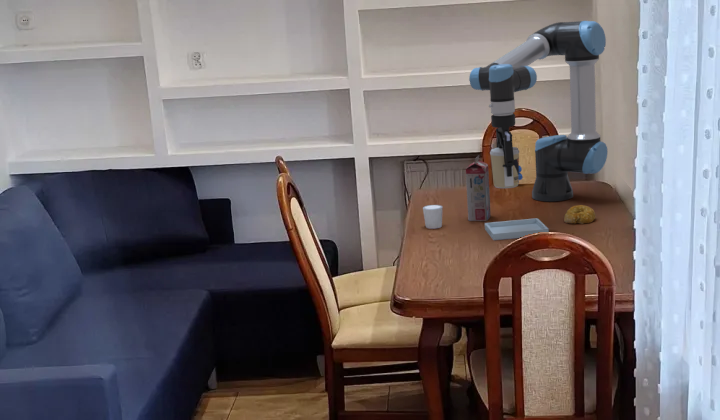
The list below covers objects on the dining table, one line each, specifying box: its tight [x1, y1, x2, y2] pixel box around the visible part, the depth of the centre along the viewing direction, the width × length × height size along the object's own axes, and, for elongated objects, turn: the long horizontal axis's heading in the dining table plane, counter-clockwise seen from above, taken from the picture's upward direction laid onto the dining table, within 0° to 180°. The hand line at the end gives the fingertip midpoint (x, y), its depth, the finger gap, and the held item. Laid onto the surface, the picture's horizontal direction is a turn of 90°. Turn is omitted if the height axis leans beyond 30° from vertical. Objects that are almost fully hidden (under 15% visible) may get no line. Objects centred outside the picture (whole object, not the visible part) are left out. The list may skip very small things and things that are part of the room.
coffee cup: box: [489, 146, 520, 189], centre depth 274 cm, size 9×9×12 cm
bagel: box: [563, 204, 596, 225], centre depth 286 cm, size 10×11×5 cm
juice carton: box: [465, 155, 491, 222], centre depth 297 cm, size 7×7×22 cm
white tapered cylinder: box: [422, 204, 443, 230], centre depth 293 cm, size 7×7×7 cm
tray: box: [484, 218, 550, 241], centre depth 279 cm, size 18×14×2 cm
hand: (506, 182), depth 275 cm, fingers closed on coffee cup, 8 cm apart
